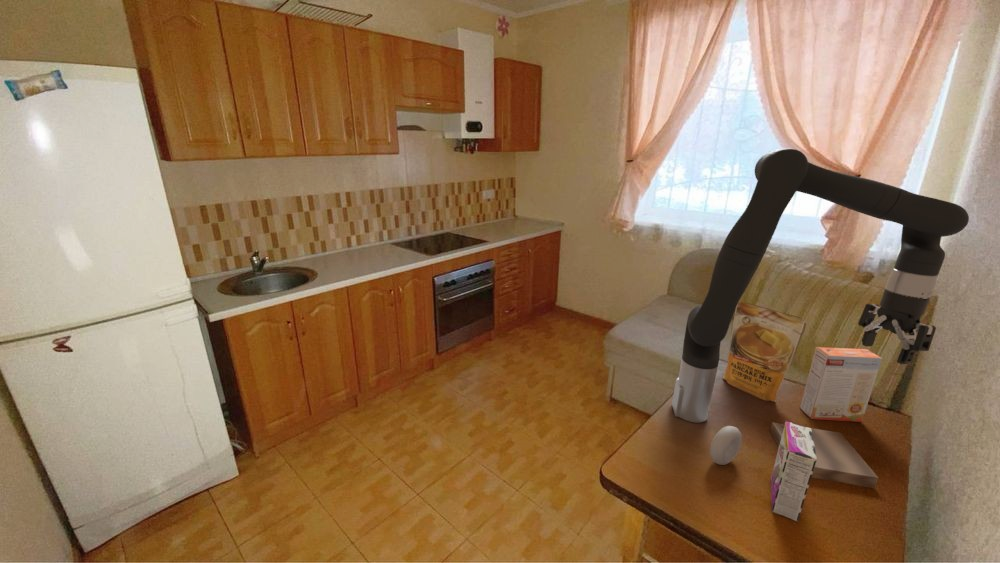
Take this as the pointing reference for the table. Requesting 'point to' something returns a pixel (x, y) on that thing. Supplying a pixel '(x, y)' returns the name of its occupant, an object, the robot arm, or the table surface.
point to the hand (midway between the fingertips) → (883, 354)
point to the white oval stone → (725, 445)
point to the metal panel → (835, 458)
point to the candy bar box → (792, 470)
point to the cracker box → (840, 383)
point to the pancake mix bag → (761, 349)
